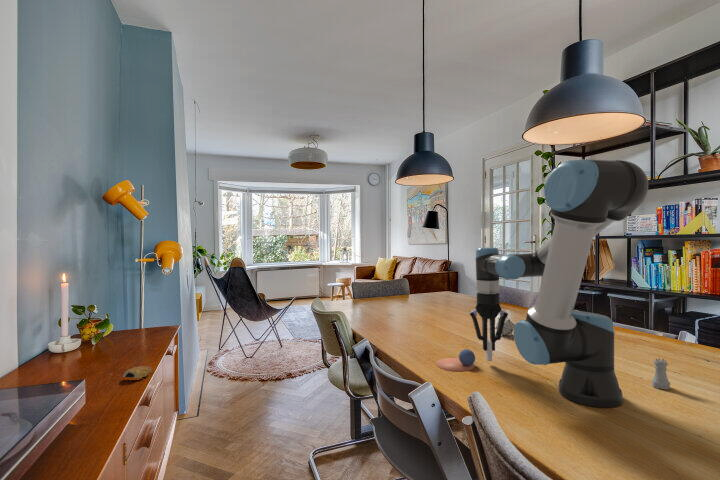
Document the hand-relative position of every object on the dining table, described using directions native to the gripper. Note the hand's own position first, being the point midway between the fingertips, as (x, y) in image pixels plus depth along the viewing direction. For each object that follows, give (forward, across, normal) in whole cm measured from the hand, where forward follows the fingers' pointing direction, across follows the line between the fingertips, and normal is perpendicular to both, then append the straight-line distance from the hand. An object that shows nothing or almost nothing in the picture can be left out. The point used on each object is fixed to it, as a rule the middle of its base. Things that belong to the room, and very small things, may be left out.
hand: (489, 359), depth 128 cm
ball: (-1, +8, +1) cm, 8 cm away
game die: (+2, -16, -39) cm, 42 cm away
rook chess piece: (+2, -45, +16) cm, 48 cm away
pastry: (+2, +119, +18) cm, 120 cm away
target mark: (+2, +12, 0) cm, 12 cm away
